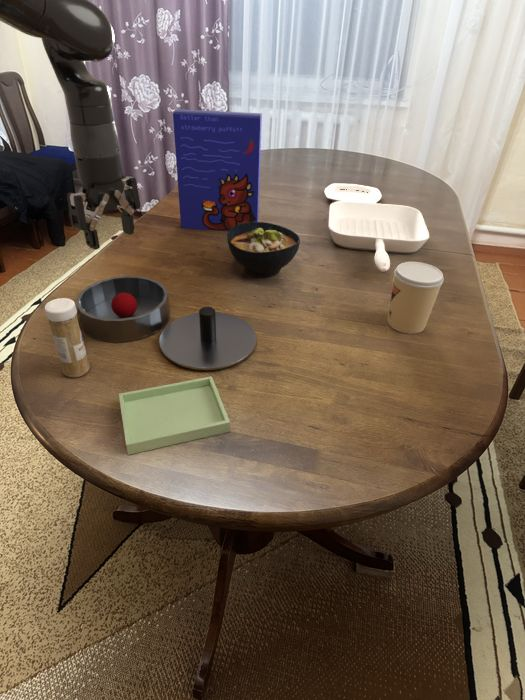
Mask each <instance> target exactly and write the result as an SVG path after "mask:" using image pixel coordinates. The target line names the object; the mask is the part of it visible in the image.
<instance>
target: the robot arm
mask: <svg viewBox="0 0 525 700" xmlns="http://www.w3.org/2000/svg"><path fill="white" fill-rule="evenodd" d="M0 22H1V23H4V24H5V25H7V26H10V27H11V28H13V29H15V30H16V31H19V32H21V33H23V34H24V35H27V36H30V37H35V38H37V39H38V38H39V39H41V42H42V46H43V48H44V51H45V54H46V56H47V58H48V60H49V63H50V65H51V68H52V69H53V73H54V75H55V78H56V79H57V82H58V83H59V85H60V88H61V90H62V92H63V95H64V102H65V105H66V111H67V116H68V122H69V130H70V131H69V132H70V133H69V134H70V140H71V145H72V151H73V156H74V161H75V166H76V171H77V176H78V179H79V181H80V183H81V185H82V187H81V192H78V193H74V192H73V193H72V192H68V193H67V194H66V199H67V200H66V201H67V205H68V213H69V217H70V224H71V227H72V228H75V229H78V230H80V231H83V234H84V239H85V243H86V246H87V247H89V248H90V249H92V250H95V251H97V250H99V249H100V248H101V246H100V241H99V234H98V230H97V229H96V228H97V224H98V221H99V220H100V219H102V216H103V213H107V212H109V211H110V210H115V209H118V210H119V212H121V214H120V220H121V224H122V225H121V226H122V231H123V233H124V234H126V235H133V234H134V233H135V221H134V214H135V212H136V210H139V209H141V201H140V195H139V189H138V183H137V179H136V178H135V177H132V176H128V175H124V168H123V162H122V155H121V147H120V141H119V135H118V130H117V127H116V123H115V117H114V109H113V103H112V102H113V101H112V95H111V90H110V87H109V86H108V84H107V83H106V82H105V81H103V80H101V79H99V78H97V77H95V76H94V75H92V74H91V73H90V70H89V69H88V66H87V64H86V62H90V63H97V62H98V63H100V62H102V61H105V60H106V59H108V58H109V56H110V55H112V52H113V50H114V48H115V42H116V41H115V40H116V39H115V38H116V37H115V32H114V29H113V26H112V23H111V21H110V19H109V17H107V15H106V14H105V13H104V11H103V10H102V9H101V8H99V6H97V5H96V4H94V3H93V2H91V1H89V0H0ZM123 193H124V195H123ZM92 209H93V210H94V211H92Z"/></svg>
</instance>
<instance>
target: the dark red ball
mask: <svg viewBox="0 0 525 700" xmlns="http://www.w3.org/2000/svg"><path fill="white" fill-rule="evenodd" d="M111 307H112V310H113V312H114V313H115V314H116V315H117V316H119V317H122V318H127V317H130V316H132V315H133V314H134V313H135V312H136V310H137V301H136V299H135V298H134V297H133V296H132V295H131V294H128V293H119V294H117V295H116V296H115V297H114V298H113V300H112V303H111Z"/></svg>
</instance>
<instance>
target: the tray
mask: <svg viewBox="0 0 525 700" xmlns="http://www.w3.org/2000/svg"><path fill="white" fill-rule="evenodd" d="M118 400H119V407H120V413H121V421H122V427H123V432H124V433H123V434H124V442H125V447H126V452H127V455H128V456H129V455H134V454H137V453H143V452H147V451H151V450H156V449H160V448H164V447H169V446H173V445H176V444H177V445H178V444H182V443H186V442H191V441H195V440H199V439H204V438H208V437H213V436H218V435H222V434H227V433H231V421H230V418H229V416H228V414H227V411H226V408H225V406H224V403H223V401H222V398H221V396H220V393H219V391H218V388H217V386H216V382H215V381H214V378H213V376H211V375H210V376H206V377H201V378H195V379H190V380H185V381H178V382H173V383H168V384H164V385H158V386H153V387H147V388H143V389H137V390H132V391H126V392H121V393H118Z"/></svg>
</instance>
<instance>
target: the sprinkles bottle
mask: <svg viewBox="0 0 525 700" xmlns="http://www.w3.org/2000/svg"><path fill="white" fill-rule="evenodd" d="M44 313H45V317H46V319H47V320H48V322H49V325H50V329H51V333H52V335H51V336H52V338H53V341H54V345H55V348H56V352H57V354H58V358H59V360H60V363H61V367H62V373H63V374H64V376H66V377H68V378H79V377H82V376H84V375H87V373H89V371H90V369H91V365H90V363H89V360H88V356H87V350H86V346H85V343H84V338H83V334H82V331H81V328H80V323H79V320H78V316H77V314H78V310H77V305H76V302H75V301H74V300H73V299H71V298H67V297H59V298H56V299H51V300H50V301H48V302H47V303H46V304H45V305H44Z"/></svg>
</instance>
